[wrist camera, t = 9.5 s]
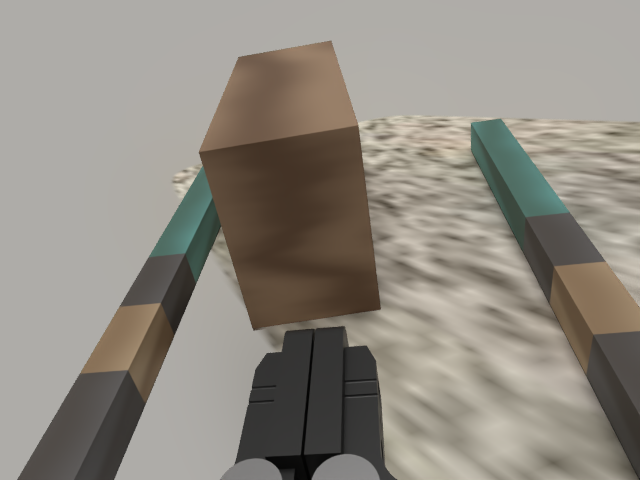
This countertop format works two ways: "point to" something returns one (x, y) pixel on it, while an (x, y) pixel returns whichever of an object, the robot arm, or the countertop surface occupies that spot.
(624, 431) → the lane
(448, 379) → the countertop surface
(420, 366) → the countertop surface
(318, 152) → the walnut block
